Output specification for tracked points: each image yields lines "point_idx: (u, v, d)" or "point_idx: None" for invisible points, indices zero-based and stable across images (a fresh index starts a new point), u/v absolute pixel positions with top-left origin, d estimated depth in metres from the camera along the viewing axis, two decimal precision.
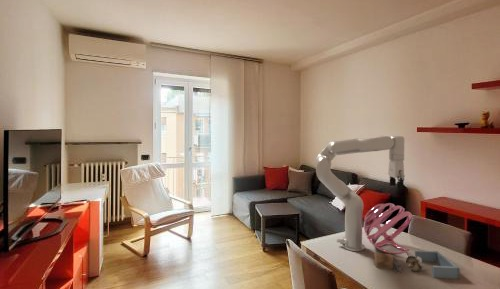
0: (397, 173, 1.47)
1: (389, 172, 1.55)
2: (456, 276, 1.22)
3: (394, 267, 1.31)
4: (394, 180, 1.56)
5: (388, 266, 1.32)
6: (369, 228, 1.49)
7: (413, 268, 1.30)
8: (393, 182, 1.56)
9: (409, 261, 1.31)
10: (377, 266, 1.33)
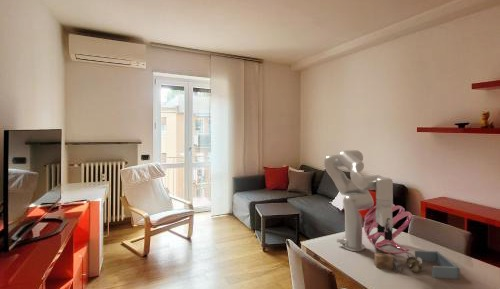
0: (384, 222, 1.28)
1: (376, 218, 1.36)
2: (456, 276, 1.22)
3: (394, 267, 1.31)
4: (382, 227, 1.37)
5: (388, 266, 1.32)
6: (369, 228, 1.49)
7: (413, 269, 1.29)
8: (381, 229, 1.37)
9: (409, 262, 1.30)
10: (377, 266, 1.33)
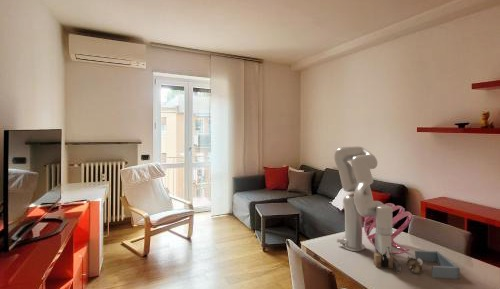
0: (384, 250, 1.29)
1: (376, 244, 1.37)
2: (456, 276, 1.22)
3: (394, 267, 1.31)
4: None
5: (388, 266, 1.33)
6: (369, 228, 1.49)
7: (413, 270, 1.28)
8: None
9: (410, 263, 1.29)
10: (377, 266, 1.33)
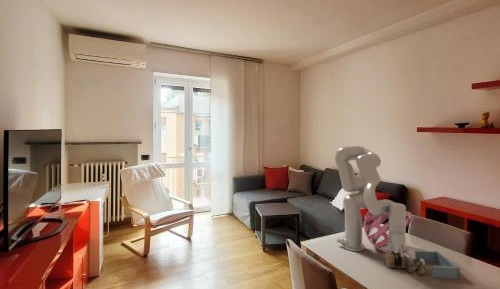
0: (397, 248, 1.28)
1: (389, 243, 1.36)
2: (456, 276, 1.22)
3: (406, 266, 1.30)
4: None
5: None
6: (369, 228, 1.49)
7: (420, 271, 1.26)
8: None
9: (416, 264, 1.27)
10: (389, 266, 1.32)
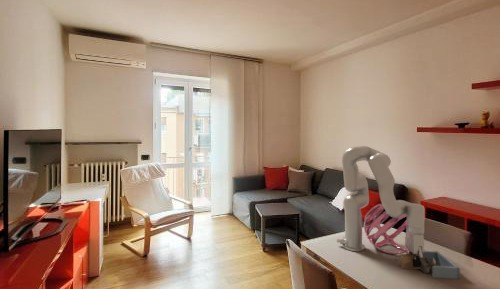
0: (416, 249, 1.27)
1: (406, 244, 1.35)
2: (456, 276, 1.22)
3: (421, 267, 1.29)
4: None
5: None
6: (369, 228, 1.49)
7: None
8: None
9: (431, 263, 1.27)
10: (404, 267, 1.32)
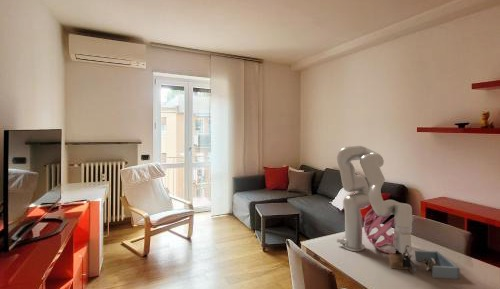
0: (403, 249, 1.28)
1: (394, 243, 1.36)
2: (456, 276, 1.22)
3: (409, 268, 1.30)
4: (400, 253, 1.37)
5: (403, 267, 1.32)
6: (369, 228, 1.49)
7: None
8: None
9: (431, 265, 1.27)
10: (392, 267, 1.32)
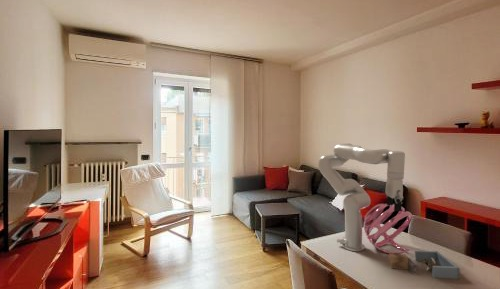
0: (395, 193, 1.31)
1: (386, 190, 1.38)
2: (456, 276, 1.22)
3: (409, 268, 1.30)
4: (391, 199, 1.40)
5: (403, 267, 1.32)
6: (369, 228, 1.49)
7: None
8: (390, 202, 1.40)
9: (431, 265, 1.26)
10: (392, 267, 1.32)
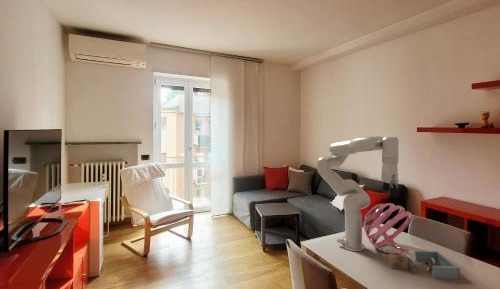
0: (390, 178, 1.33)
1: (382, 176, 1.40)
2: (456, 276, 1.22)
3: (409, 268, 1.30)
4: (388, 185, 1.42)
5: (403, 267, 1.32)
6: (369, 228, 1.49)
7: None
8: (387, 188, 1.42)
9: (431, 265, 1.26)
10: (392, 266, 1.32)
